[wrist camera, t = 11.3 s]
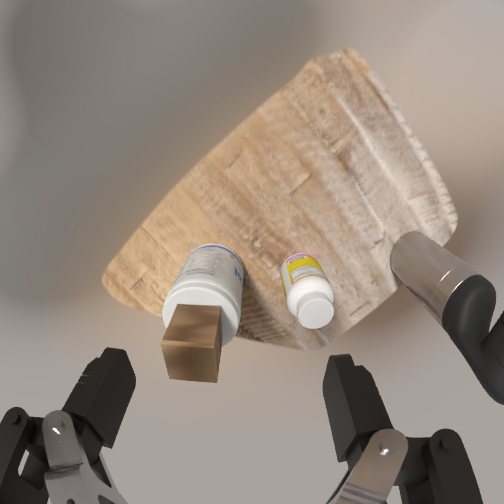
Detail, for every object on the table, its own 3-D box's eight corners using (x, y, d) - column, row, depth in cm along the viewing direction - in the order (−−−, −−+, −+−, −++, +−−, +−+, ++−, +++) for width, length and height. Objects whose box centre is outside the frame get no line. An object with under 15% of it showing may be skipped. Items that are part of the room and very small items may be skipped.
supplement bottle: (306, 293, 46) (322, 341, 34) (272, 278, 45) (279, 326, 33) (326, 261, 44) (351, 303, 32) (292, 244, 43) (308, 284, 31)
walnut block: (220, 305, 30) (213, 347, 23) (222, 339, 32) (217, 382, 25) (177, 303, 30) (160, 343, 23) (182, 337, 31) (169, 378, 25)
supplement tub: (250, 287, 46) (249, 346, 32) (197, 298, 46) (179, 356, 33) (234, 234, 42) (226, 279, 28) (178, 248, 43) (148, 295, 29)
